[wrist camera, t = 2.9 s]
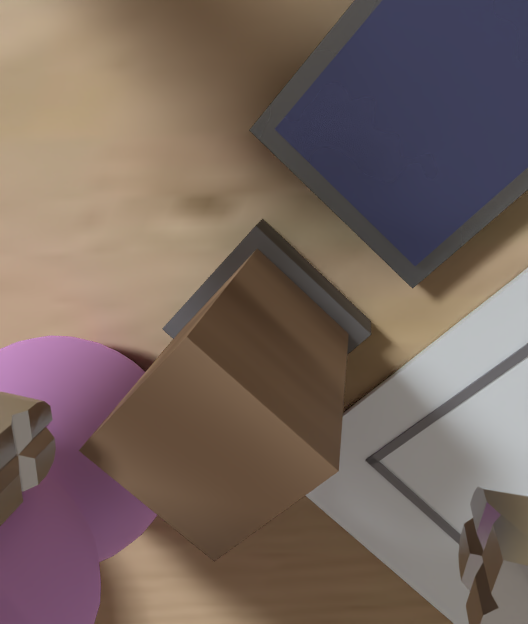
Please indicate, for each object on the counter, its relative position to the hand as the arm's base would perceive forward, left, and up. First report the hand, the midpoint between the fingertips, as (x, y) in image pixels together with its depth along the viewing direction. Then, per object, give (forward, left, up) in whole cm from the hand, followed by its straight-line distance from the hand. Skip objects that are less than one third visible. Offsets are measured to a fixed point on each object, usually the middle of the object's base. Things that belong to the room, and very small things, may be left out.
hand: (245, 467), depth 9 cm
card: (+2, -8, -7) cm, 11 cm away
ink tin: (+8, +2, -7) cm, 10 cm away
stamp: (0, +1, -7) cm, 7 cm away
